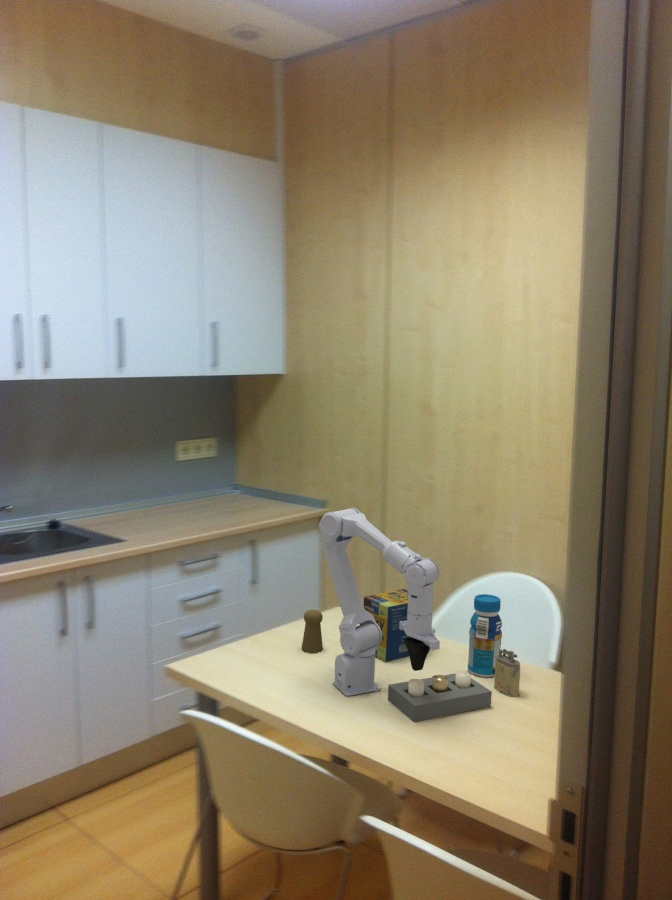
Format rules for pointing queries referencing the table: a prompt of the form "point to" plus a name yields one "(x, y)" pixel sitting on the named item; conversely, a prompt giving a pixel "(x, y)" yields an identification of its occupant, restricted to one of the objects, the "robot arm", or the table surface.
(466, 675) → the far knob
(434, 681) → the brass knob
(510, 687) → the lighter
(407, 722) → the table surface
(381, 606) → the protein box
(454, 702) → the grey slotted block
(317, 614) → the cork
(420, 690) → the near knob
